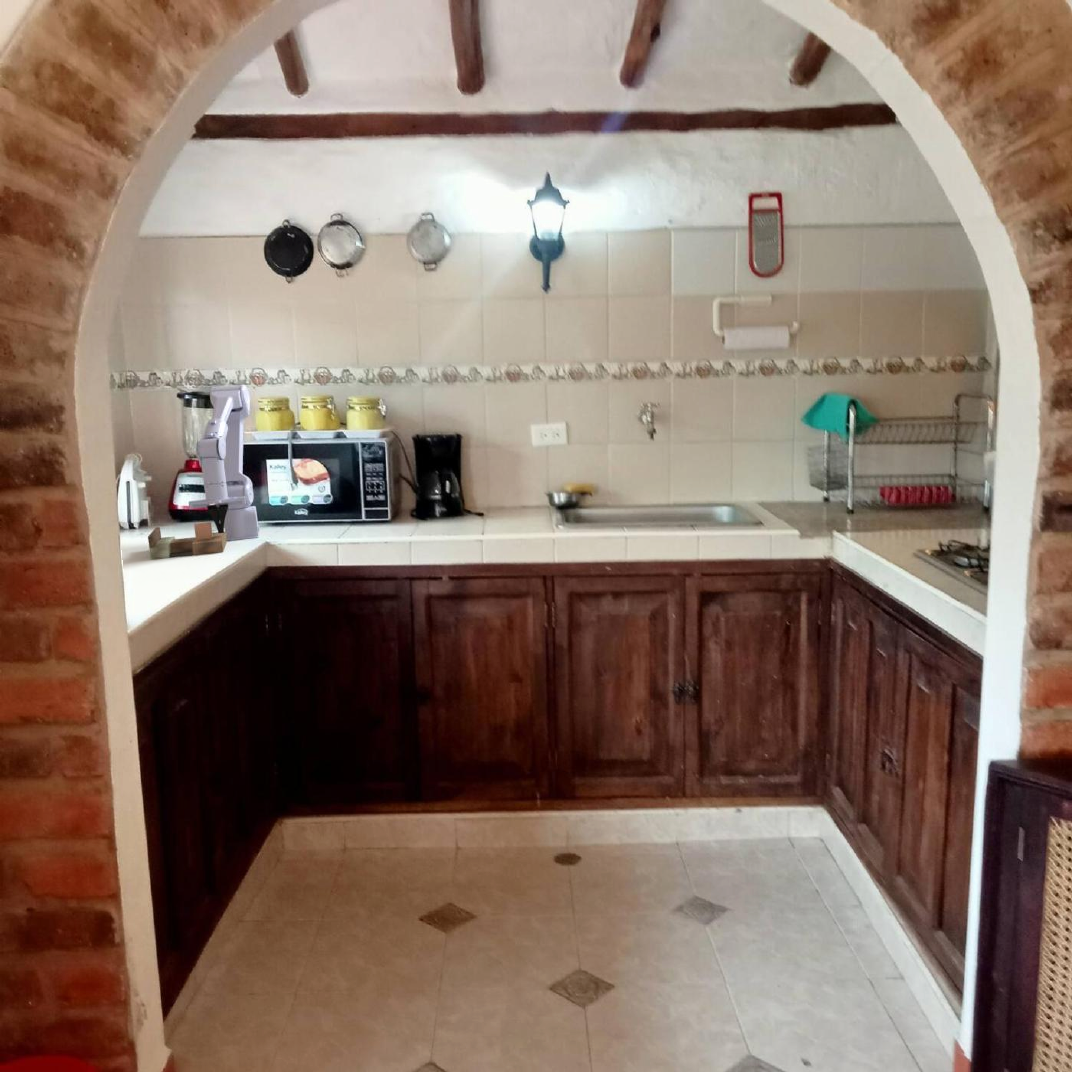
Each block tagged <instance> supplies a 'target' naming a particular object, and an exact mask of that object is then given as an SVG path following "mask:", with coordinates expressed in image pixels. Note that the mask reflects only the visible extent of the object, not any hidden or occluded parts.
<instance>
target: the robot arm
mask: <svg viewBox="0 0 1072 1072" xmlns="http://www.w3.org/2000/svg"><path fill="white" fill-rule="evenodd" d="M250 396H251V395H250V392H249V388H248V387H247V386H246V385H245V384H241V385H240V384H239V385H227V386H225V385H224V386H212V387H211V389H210V392H209V398H210V403H211V405H212V407H213V414H212V419H209V420H208V421H207V422H206V425H205V429H204V432H203V435H202V438H201V439H199V441H197V442H196V444H195V452H196V456H197V459H198V463H199V468H201V472H202V480H203V487H204V494H205V495H204V496H205V499H197V500H189V501H188V509H189V510H194V509H202V508H206V509H207V512H208V514H209V515H210V518H211V519H212V521H213V522H214V525H215V527H216V530H217V532H218V533H224V532H225V531H226V539H227V540H230V541H238V540H250V539H258V538H259V537H260V525H259V522H258V514H257V507H256V505H253V506H251V505H252V503H253V501H254V489H253V482H252V480H251V478H250V477H249V476H247V475H245V474H243V465H244V462H243V460H244V459H243V458H244V457H243V456H244V428H245V427H244V426H245V419H247V417H248V416H250V411H251V407H250V406H251V397H250ZM224 460H225V461H224Z"/></svg>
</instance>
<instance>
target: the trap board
mask: <svg viewBox="0 0 1072 1072" xmlns="http://www.w3.org/2000/svg"><path fill="white" fill-rule="evenodd" d="M212 534H213V537H212V538H211V539H201V540H196V536H193V537H183V538H176V537H175V535H174V536H167V537H162V534H161V527H160V526H157V527H155V528H154V529H153V530H152V532H151V533H149V535H148V536H147V540H148V541H147V542H148V547H149V556H150V560H159V559H167V558H168V559H171V558H178V557H189V556H197V555H208V554H217V553H224V551H225V547H226V545H227V543H228V541H227V539H226V531H225V530H224V533H218V531H216V532H212Z"/></svg>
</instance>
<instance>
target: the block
mask: <svg viewBox="0 0 1072 1072" xmlns="http://www.w3.org/2000/svg"><path fill="white" fill-rule="evenodd" d="M193 527H194V535H195V536H194V537H196V540H201V539H211V538H212V537H213V534H212V533H213V526H212V521H205V522H204V521H203V522H195V523H194V526H193Z"/></svg>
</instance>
